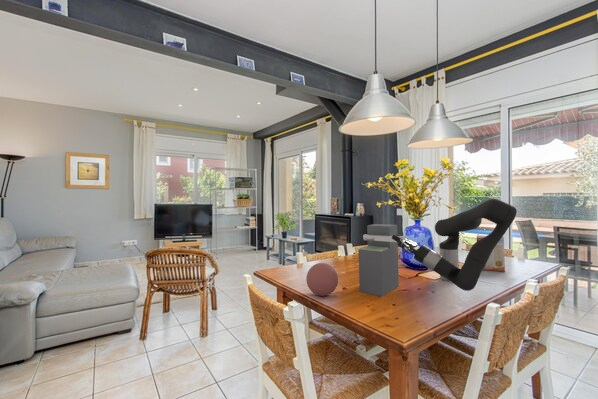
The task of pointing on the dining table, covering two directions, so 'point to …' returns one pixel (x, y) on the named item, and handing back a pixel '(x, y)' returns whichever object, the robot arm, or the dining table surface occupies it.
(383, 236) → the flanged bar
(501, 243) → the cracker box
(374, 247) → the stepped shelf
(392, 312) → the dining table surface
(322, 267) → the mauve oval ball
